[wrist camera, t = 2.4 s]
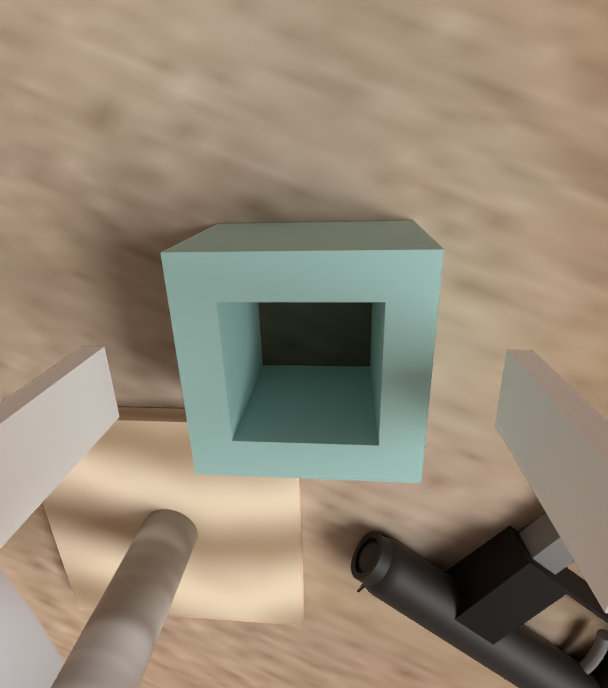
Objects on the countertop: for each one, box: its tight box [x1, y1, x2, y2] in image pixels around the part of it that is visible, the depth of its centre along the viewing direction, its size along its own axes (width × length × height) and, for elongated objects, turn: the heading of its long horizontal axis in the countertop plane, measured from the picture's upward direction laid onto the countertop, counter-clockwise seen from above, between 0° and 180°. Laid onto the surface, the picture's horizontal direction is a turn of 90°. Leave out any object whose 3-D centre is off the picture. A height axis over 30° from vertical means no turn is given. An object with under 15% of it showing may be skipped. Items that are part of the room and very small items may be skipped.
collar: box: [160, 220, 444, 483], centre depth 16 cm, size 8×8×6 cm
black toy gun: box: [351, 512, 608, 688], centre depth 23 cm, size 3×20×16 cm
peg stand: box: [42, 407, 304, 688], centre depth 19 cm, size 14×14×13 cm
